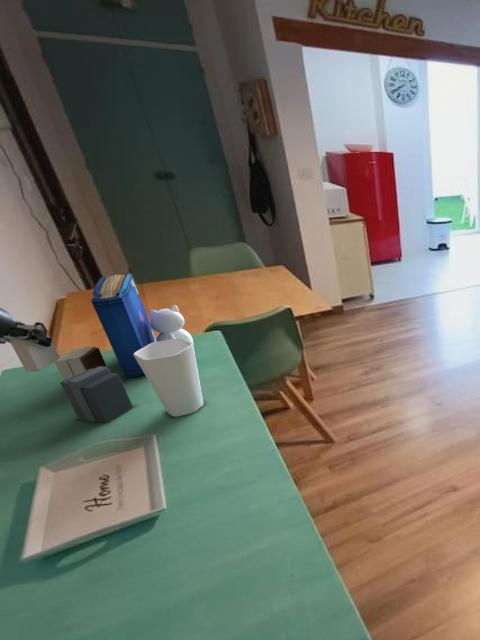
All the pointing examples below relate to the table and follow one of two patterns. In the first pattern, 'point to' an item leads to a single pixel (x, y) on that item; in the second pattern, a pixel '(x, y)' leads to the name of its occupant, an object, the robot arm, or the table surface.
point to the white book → (34, 354)
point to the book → (123, 319)
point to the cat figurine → (169, 324)
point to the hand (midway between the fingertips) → (41, 343)
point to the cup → (172, 374)
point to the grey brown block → (79, 361)
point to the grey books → (97, 395)
